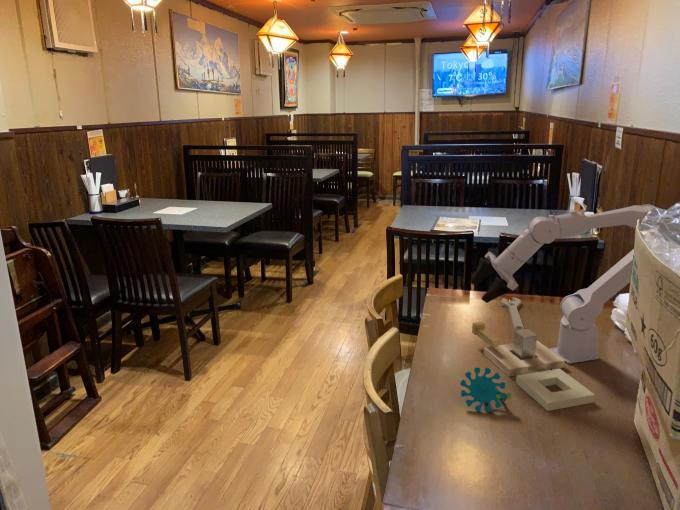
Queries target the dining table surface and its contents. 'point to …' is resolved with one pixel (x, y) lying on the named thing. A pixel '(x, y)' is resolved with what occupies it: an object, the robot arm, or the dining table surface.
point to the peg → (524, 344)
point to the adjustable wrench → (513, 312)
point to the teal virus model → (484, 390)
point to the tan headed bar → (485, 334)
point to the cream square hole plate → (556, 400)
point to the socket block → (515, 366)
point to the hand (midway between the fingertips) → (478, 292)
